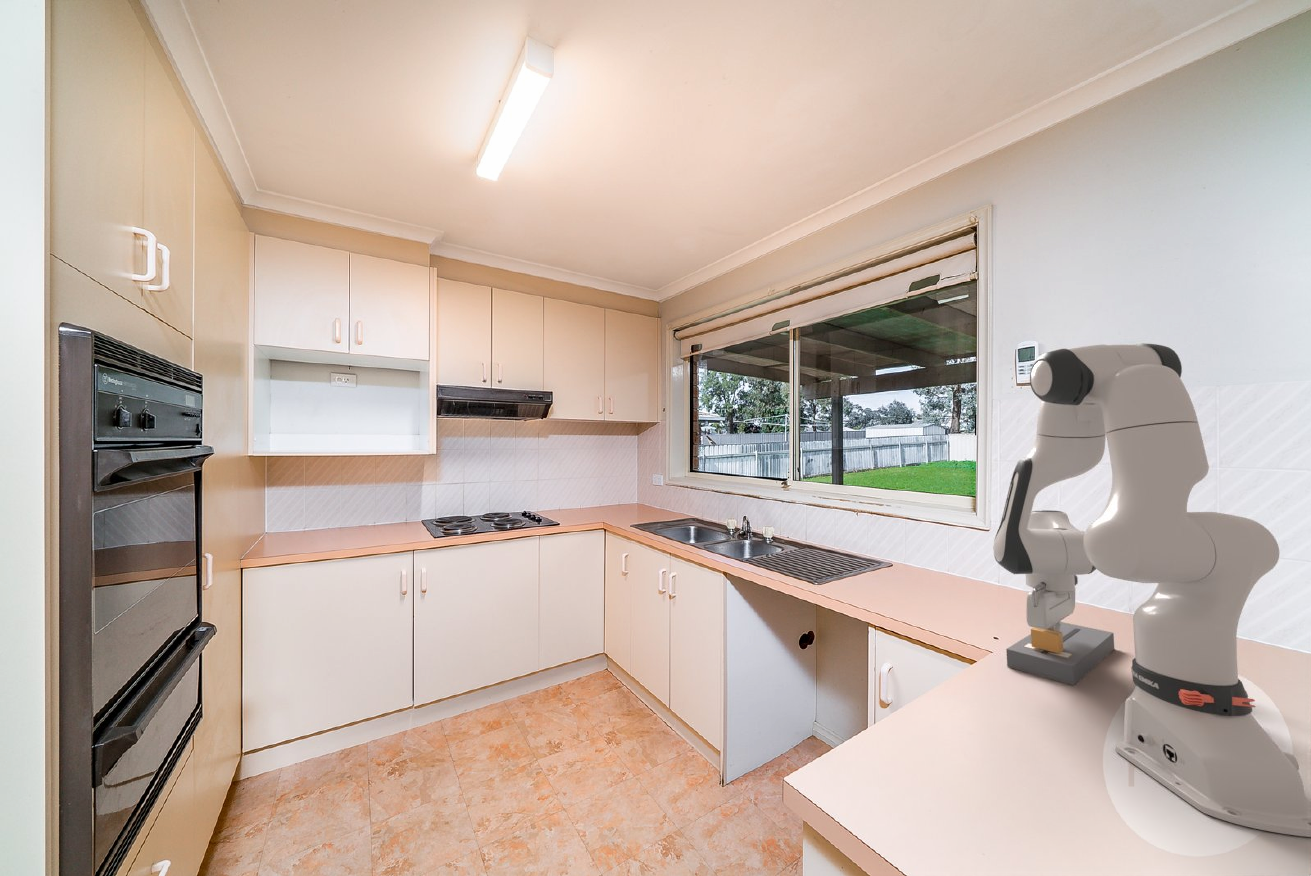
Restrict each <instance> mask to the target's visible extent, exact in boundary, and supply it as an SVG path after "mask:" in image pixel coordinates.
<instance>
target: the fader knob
mask: <svg viewBox="0 0 1311 876" xmlns="http://www.w3.org/2000/svg"><path fill="white" fill-rule="evenodd" d="M1030 634H1031V643H1032V647H1035V648H1039V649H1043V650H1047V651H1051V652H1055V653H1060V652H1062V651H1063V634H1062V632H1059V631H1055V630H1050V629H1046V630H1044V629H1039V628H1034V627H1031V628H1030Z"/></svg>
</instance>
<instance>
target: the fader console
mask: <svg viewBox="0 0 1311 876" xmlns="http://www.w3.org/2000/svg"><path fill="white" fill-rule="evenodd" d="M1059 632H1062V634H1063V651H1062V652H1060V653H1055V652H1051V651H1047V650H1043V649H1039V648H1035V647H1032V643H1031V633H1030V634H1028V635H1026V636H1025V637H1024V638H1023V637H1022V638H1021V639H1020V640H1019V641H1017V642H1015V643H1014V644H1012V645H1011V646H1009V647H1007V648H1006V649H1005V650H1006V666H1007V668H1011V669H1014V670H1018V671H1022V672H1025V673H1028V674H1032V675H1036V676H1039V677H1043V678H1045V679H1049V680H1054V681H1056V682H1060V683H1063V684H1067V685H1069V686H1074V687H1075V686H1076V685H1077V684H1078V683H1079V682H1080V681H1081V680H1083V678H1084V677H1086V676H1087V675H1088V673H1090V672H1091V671H1092V670H1093V669H1094V668H1095V667H1096V666H1098V665H1099V664H1100V663H1101V662H1102V661H1103V660H1104V659H1105V658H1106V657H1108V655H1110V654H1111V653H1112V652H1113V651H1115V635H1114V634H1115V633H1114V632H1112V631H1107V630H1104V629H1103V630H1101V629H1097V628H1093V627H1092V628H1091V627H1087V626H1082V625H1077V624H1073V623H1068V622H1064V621H1061V626H1060V630H1059Z"/></svg>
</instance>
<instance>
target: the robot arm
mask: <svg viewBox="0 0 1311 876" xmlns="http://www.w3.org/2000/svg"><path fill="white" fill-rule="evenodd" d="M1182 365H1183V364H1182V363H1181V359H1180V357H1179V355H1178V354H1177V353H1176V351H1175V350H1173V349H1172V348H1171V347H1168V346H1165V345H1161V344H1157V343H1138V344H1094V345H1087V346H1086V345H1085V346H1080V347H1079V346H1078V347H1074V348H1069V349H1068V348H1058V349H1056V350H1051V351H1048V352H1045V353H1043V354H1041V355H1040V356H1038V357H1037V358H1036V360H1035V361H1034V363H1033V364H1032V366H1031V369H1030V373H1029V383H1030V388H1031V390H1032V392H1033V394H1034V395H1035V396H1036V397H1037V398H1038V399H1039V400H1041V401H1040V405H1039V409H1038V414H1037V420H1036V422H1037V423H1036V435H1035V437H1036V438H1035V440H1034V445H1033V447H1032V448H1031V450H1030V451H1029V452H1028V454H1027V455H1026V456H1025V457H1022V458H1020V459H1019V460H1018V461H1017V462H1016V465H1015V468H1014V470H1013V473H1012V476H1011V481H1010V484H1009V486H1008V487H1009V488H1008V492H1007V497H1006V500H1005V504H1004V508H1003V513H1002V517H1001V521H1000V525H999V527H998V529H997V532H996V535H995V538H994V542H993V547H992V548H993V555H994V559H995V561H996V562H997V564H998V565H1000V567H1002V568H1003V569H1005V570H1006V571H1007V572H1009V573H1011V574H1013V575H1025V585H1026V586H1027V587H1030V588H1032V590H1031V591H1028V593H1027V595H1026V612H1025V613H1026V618H1025V619H1026V623H1027V625H1028V626H1029V627H1031V628H1033V627H1034V628H1039V629H1044V630H1046V629H1050V630H1055V631H1059V630H1060V626H1061V622H1062V620H1064V619H1066V618H1068V617H1069V616H1070V615H1072V614H1073V613H1074V611H1075V607H1076V586H1077V585H1078V583H1079V578H1078V576H1081V575H1089V574H1092V573H1093V572H1095V571H1096V570H1097V571H1098V572H1100V573H1101V574H1103V575H1105V576H1107V577H1109V578H1112V579H1117V580H1122V581H1128V582H1133V583H1139V584H1157V585H1156V588H1155V590H1154V591H1153V593H1152V594H1151V596H1150V597H1149V598H1148V599H1147V600H1146V601H1145V602H1142V603H1141V604H1140V606H1138V607H1137V608H1136V609H1135V611H1134V612H1133V616H1132V625H1133V641H1134V656H1135V657H1134V658H1133V659H1132V661H1131V662H1132V663H1131V667H1130V668H1131V669H1130V670H1131V674H1132V682H1133V683H1134V685H1135V687H1134V689H1133V691H1132V693H1131V694H1130V695H1129V696H1128V697H1127V698H1126V700H1125V704H1124V706H1125V707H1124V724H1123V740H1121V741H1118V742H1115V748H1114V750H1115V752H1116V753H1117V754H1118V755H1120V756H1121V757H1124V759H1126V760H1127V761H1129V762H1130V763H1132V764H1133V765H1134V766H1136V767H1137V768H1139V769H1140V770H1141V771H1143V772H1144V773H1146V774H1147V775H1148V776H1150V777H1151V778H1153V780H1154V779H1155V780H1156V781H1157V782H1159V783H1160V784H1161V785H1162V786H1164V787H1166V788H1167V789H1169V790H1170V791H1172V793H1174V794H1176V796H1179V797H1180V798H1181V799H1183V800H1184V801H1185V802H1187V803H1188V804H1190V805H1191V806H1193V807H1194V808H1196V809H1197V810H1198V811H1200V812H1202V813H1203V814H1205V815H1209V816H1211V817H1214V818H1216V819H1219V820H1222V821H1225V822H1229V823H1232V824H1235V825H1239V826H1243V827H1248V828H1251V829H1256V830H1257V829H1258V830H1261V831H1266V832H1271V833H1276V834H1277V833H1278V834H1283V835H1290V836H1291V835H1292V836H1298V837H1309V838H1311V799H1308V798H1307V797H1306V793H1305V787H1304V782H1303V779H1302V776H1301V775H1300V772H1299V770H1300V764H1299V762H1298V760H1297V759H1296V757H1295V756H1294V755H1293V754H1292V753H1290V752H1287V751H1286V752H1284V751H1282V750H1281V748H1280V747H1279V746H1278V745H1277V744H1276V743H1275V741H1274V739H1272V737H1271V736H1270V735H1269V734H1268V733H1267V732H1266V730H1265V729H1264V728H1263V727H1262V726H1261V724H1259V722H1258V720H1256V718H1255V717H1254V715H1253V714H1252V713H1253V708H1256V705H1254V704H1251V703H1253V702H1256V700H1255V699H1254V698H1249V694H1248V692H1247V691H1246V689H1245V686H1244V685H1243V682H1242V680H1240V679H1239V672H1238V671H1239V669H1238V650H1237V646H1238V645H1237V642H1238V641H1237V639H1238V638H1237V633H1238V626H1239V621H1240V618H1241V614H1242V613H1243V609H1244V607H1245V605H1246V601H1247V600H1248V598H1249V595H1250V594H1251V591H1252V589H1254V586H1255V585H1256V584H1257V583H1258V582H1259V580H1260V579H1261V578H1262V577H1263V576H1265V575H1266V574H1268V573H1269V572H1270V571H1271V570H1273V569H1274V568H1275V567H1276V565H1277V564H1278V562H1279V559H1280V548H1279V544H1278V542H1277V540H1276V538H1275V536H1274V534H1273V533H1272V532H1271V531H1270V530H1269V529H1268V528H1266V527H1265V526H1264V525H1262V524H1261V523H1259V522H1258V521H1256V520H1253V519H1251V518H1247V517H1244V516H1239V515H1235V514H1234V515H1233V514H1227V513H1222V512H1217V511H1215V512H1214V511H1191V512H1190V511H1189V512H1188V502H1189V497H1190V494H1191V492H1192V489H1194V488H1195V487H1194V486H1195V485H1197V484H1198V483H1200V482H1201V481H1203V479H1205V478H1206V476H1207V475H1208V472H1209V470H1210V466H1209V462H1208V458H1207V454H1206V449H1205V445H1204V440H1203V437H1202V431H1201V428H1200V425H1199V424H1200V423H1199V421H1198V416H1197V413H1196V409H1195V407H1194V404H1193V401H1192V400H1191V397H1190V393H1189V392H1188V390H1187V388H1186V386H1185V384H1184V382H1183V380H1182V379H1181V377H1182V373H1183V367H1182ZM1106 442H1107V443H1106ZM1106 444H1107V447H1108V453H1109V458H1110V465H1111V473H1112V474H1111V475H1112V479H1111V488H1110V492H1109V493H1110V494H1109V496H1108V497H1109V498H1108V500H1107V503H1106V505H1105V507H1104V509H1103V511H1102V512H1101V513H1100V515H1099V516H1098V517H1097V518H1096V519H1095V520H1093V522H1091V523H1090V524H1089V525H1088V526H1087V527H1086V530H1085V531H1084V530H1083V531H1082V530H1080V529H1078V528H1077V527H1075V526H1074V525H1073V524H1072V523H1071V521H1070V519H1069V516H1068V514H1067V513H1066V512H1063V511H1060V510H1048V509H1047V510H1046V509H1045V510H1033V506H1034V502H1035V499H1036V498H1037V497H1036V496H1038V494H1039V493H1040V492H1041V491H1043V490H1044V489H1045V488H1048V487H1049V486H1051V485H1054V484H1056V483H1059V482H1061V481H1062V482H1063V481H1066V480H1068V479H1072V478H1075V477H1078V476H1080V475H1084V474H1085V473H1088V472H1089V471H1090V470H1092V469H1094V468H1095V467H1096V466H1097V465H1099V463H1100V462H1101V461H1102V460H1103V457H1104V453H1105V449H1106Z"/></svg>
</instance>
